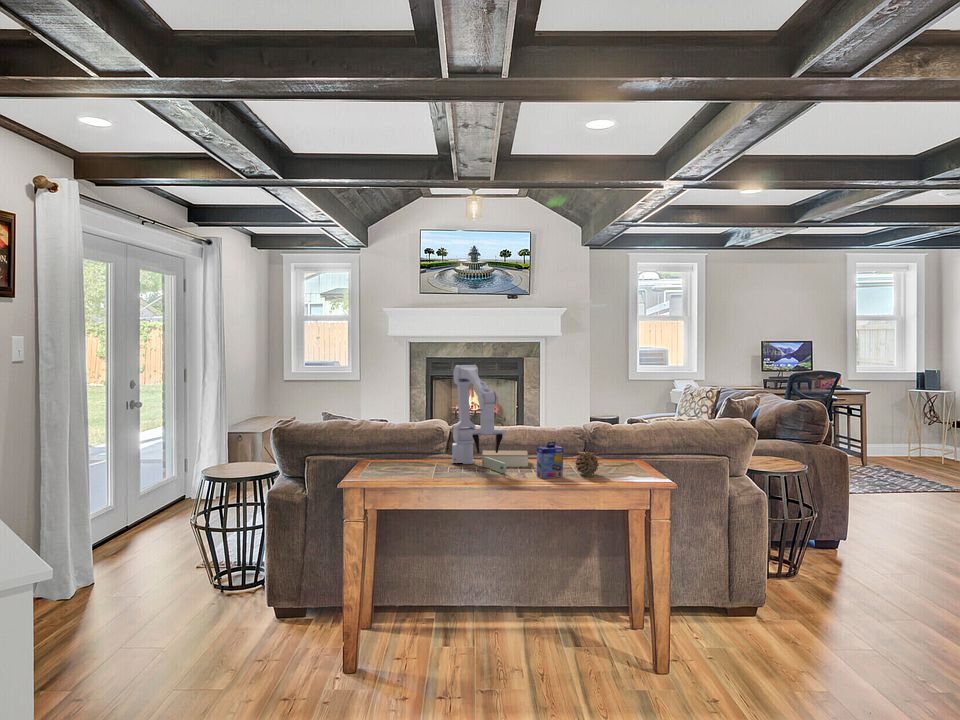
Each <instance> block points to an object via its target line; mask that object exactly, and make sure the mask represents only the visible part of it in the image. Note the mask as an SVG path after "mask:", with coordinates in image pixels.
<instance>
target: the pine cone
mask: <svg viewBox="0 0 960 720" xmlns="http://www.w3.org/2000/svg"><path fill="white" fill-rule="evenodd" d="M575 459H576V460H575V461H574V465H575V466H574V467H575V468H576V469H577V472H579V473H581V475H584V476H585V474H586V475H587V476H590V475H594V474H595V473H596V472H597V470H599V468H598V467H599V466H600V463H599V458H597V455H596V454H594V453H593V452H588V451H584V452H583V451H581V453H579V456H577V457H576V458H575Z"/></svg>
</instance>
